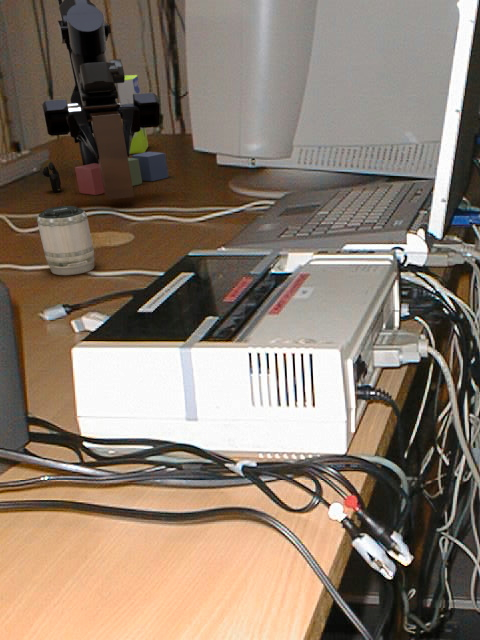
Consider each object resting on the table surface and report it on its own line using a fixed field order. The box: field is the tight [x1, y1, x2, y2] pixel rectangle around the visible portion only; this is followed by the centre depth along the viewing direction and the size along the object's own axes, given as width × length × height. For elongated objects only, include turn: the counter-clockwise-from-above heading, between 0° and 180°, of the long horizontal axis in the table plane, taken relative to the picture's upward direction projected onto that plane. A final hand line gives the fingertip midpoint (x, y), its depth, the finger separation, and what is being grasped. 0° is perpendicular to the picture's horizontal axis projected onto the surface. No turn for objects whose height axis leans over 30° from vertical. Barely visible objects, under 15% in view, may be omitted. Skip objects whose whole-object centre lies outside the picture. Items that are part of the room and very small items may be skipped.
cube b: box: [128, 157, 143, 187], centre depth 171 cm, size 4×4×4 cm
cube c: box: [74, 163, 105, 196], centre depth 166 cm, size 4×4×4 cm
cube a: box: [131, 151, 170, 182], centre depth 175 cm, size 4×4×4 cm
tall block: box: [90, 111, 135, 200], centre depth 152 cm, size 5×4×13 cm
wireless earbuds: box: [42, 161, 62, 193], centre depth 167 cm, size 7×2×5 cm, turn 15°
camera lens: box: [36, 205, 96, 276], centre depth 119 cm, size 6×6×8 cm
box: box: [116, 74, 149, 155], centre depth 203 cm, size 10×4×17 cm, turn 8°
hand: (112, 156), depth 150 cm, fingers closed on tall block, 4 cm apart
